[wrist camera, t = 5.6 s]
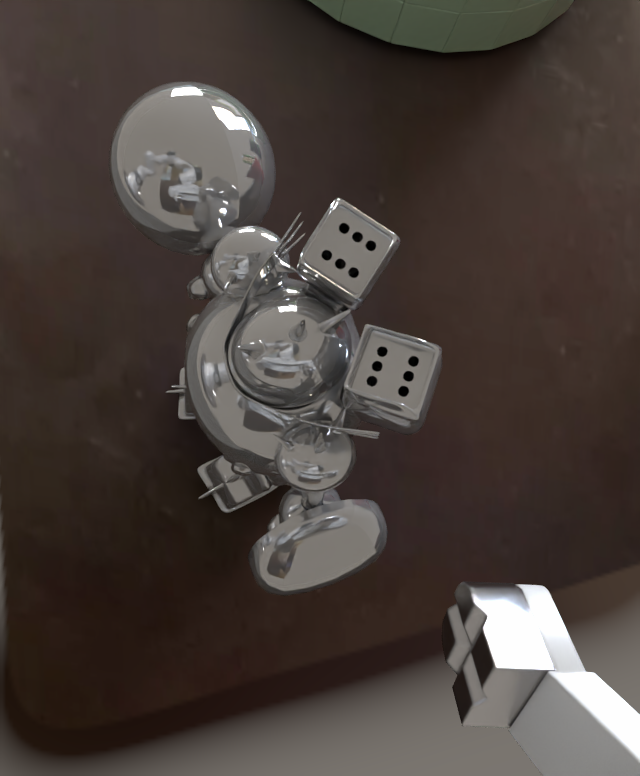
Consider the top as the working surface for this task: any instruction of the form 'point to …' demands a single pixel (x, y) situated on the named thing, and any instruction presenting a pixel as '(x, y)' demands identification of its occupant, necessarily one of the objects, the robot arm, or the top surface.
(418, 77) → the top surface
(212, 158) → the robot toy
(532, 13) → the bowl
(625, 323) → the top surface
